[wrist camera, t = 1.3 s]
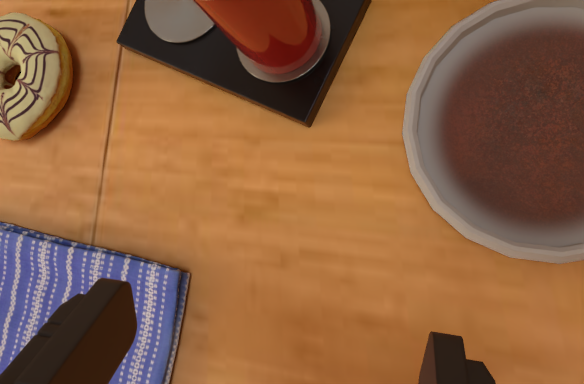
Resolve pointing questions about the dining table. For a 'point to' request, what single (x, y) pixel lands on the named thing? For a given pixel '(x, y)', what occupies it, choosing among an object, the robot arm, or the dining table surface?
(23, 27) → the decorated donut
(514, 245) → the frying pan
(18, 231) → the dish towel
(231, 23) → the lidded canister
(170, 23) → the flat stove
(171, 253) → the dining table surface
